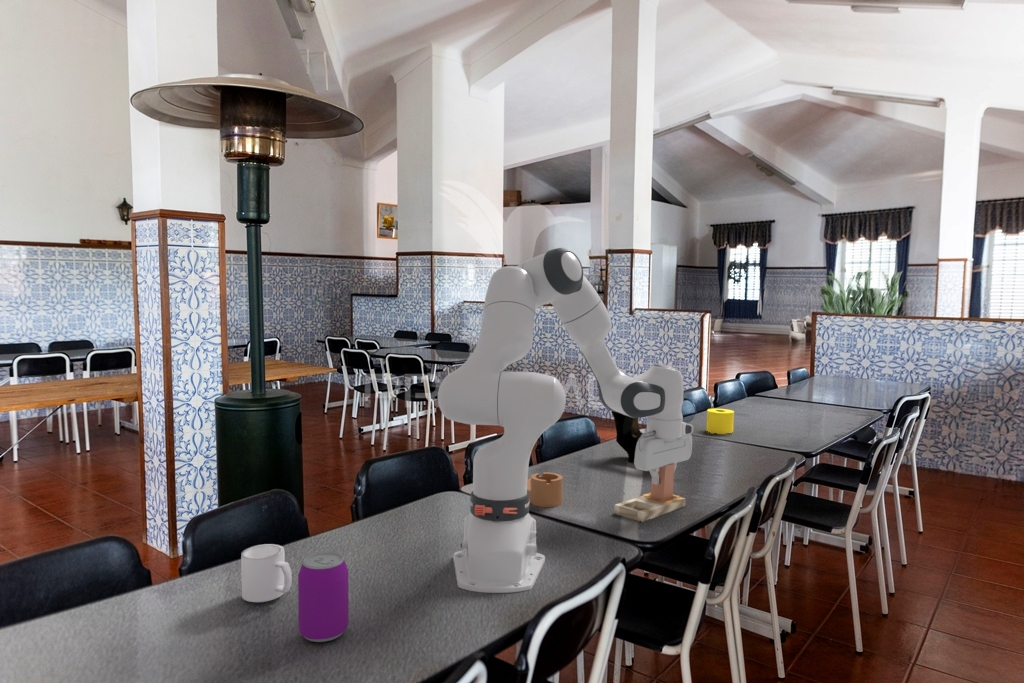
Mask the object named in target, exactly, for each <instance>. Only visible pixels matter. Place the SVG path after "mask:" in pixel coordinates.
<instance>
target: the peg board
mask: <svg viewBox="0 0 1024 683" xmlns="http://www.w3.org/2000/svg"><path fill="white" fill-rule="evenodd" d="M650 495H651V491H650V492H648V493H644V494H642V495H641V496H638V497H634V498H632V499H629V500H625V501H622V502H619V503H618V502H617V503H615V504H614V510H613V511H614V515H617V516H621V517H624V518H628V519H630V520H635V521H638V522H640V521H641V523H644V522H646V520H647V521H650V520H652V519H654V518H658V517H659V516H663V515H665V514H668V513H671V512H673V511H675V510H678V509H681V508H684V507H685V506H686V498H685V497H682V496H680V495H678V494H677V495H676V494H674V493H673V499H672V500H669V501H666V502H665V501H661V500H658V499H654V498H651V497H650ZM649 519H650V520H649Z"/></svg>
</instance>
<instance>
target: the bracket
mask: <svg viewBox="0 0 1024 683" xmlns="http://www.w3.org/2000/svg"><path fill="white" fill-rule="evenodd" d="M563 484H564V477H563V475H562V474H560V473H555V472H545V471H544V472H542V475H540V474H539V472H536V473H532V474H531V475H530V478H528V479H527V491H528V493H529V499H530V504H531V505H533V506H535V507H541V508H543V507H544V508H552V507H558V506H561V505H562V504H563V490H564V489H563V488H564V487H563Z"/></svg>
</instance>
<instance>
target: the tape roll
mask: <svg viewBox="0 0 1024 683" xmlns="http://www.w3.org/2000/svg"><path fill="white" fill-rule="evenodd" d="M734 420H735V411H734V410H732V409H726V408H708V409H707V410H706V432H707V431H708V432H707V433H709V432H710V433H709V434H714V433H717V434H716V435H726V434H725V433H732V432H733V433H734V423H735V422H734ZM733 433H732V434H733Z"/></svg>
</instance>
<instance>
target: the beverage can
mask: <svg viewBox="0 0 1024 683" xmlns="http://www.w3.org/2000/svg"><path fill="white" fill-rule="evenodd" d="M297 580H298V581H297V586H298V587H297V595H298V596H297V598H298V599H297V600H298V601H297V603H298V606H297V607H298V610H297V612H298V614H297V616H298V619H297V621H298V631H299V634H300V635H301V636H302V637H303V638H305V639H306V640H307V641H310V642H313V643H314V642H315V643H325V642H328V641H329V642H330V641H333V640H336V639H337V638H339V637H341V636H342V634H344V633H345V631H346V630H347V629H348V626H349V620H350V619H349V618H350V617H349V614H350V613H349V606H350V604H349V595H350V594H349V593H350V592H349V568H348V566H347V564H346V560H345V557H344V556H343V554H342V553H340V552H336V551H328V550H327V551H319V552H315V553H314V552H313V553H311V554H308V555H307V556H305V557H303V561H302V564H301V566H300V569H299V572H298V575H297Z"/></svg>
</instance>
